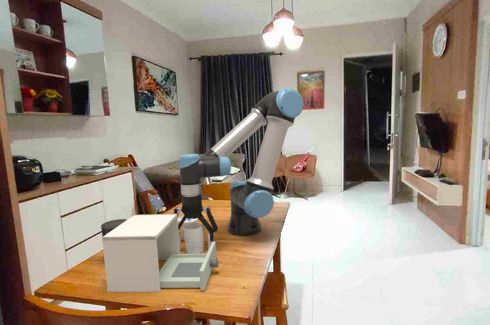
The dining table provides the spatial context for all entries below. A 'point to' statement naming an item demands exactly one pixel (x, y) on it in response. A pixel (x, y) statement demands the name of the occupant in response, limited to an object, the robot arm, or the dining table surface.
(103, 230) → the coffee can
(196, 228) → the white cup
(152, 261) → the box
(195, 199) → the robot arm
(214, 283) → the dining table surface
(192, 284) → the tray
